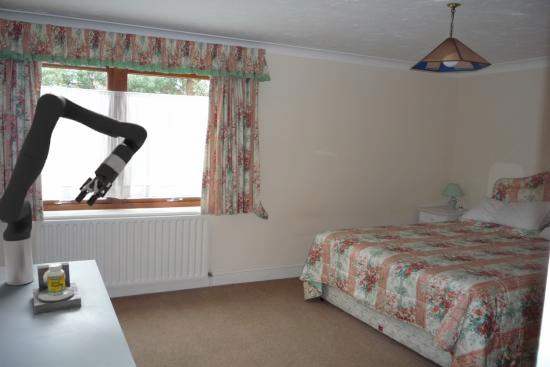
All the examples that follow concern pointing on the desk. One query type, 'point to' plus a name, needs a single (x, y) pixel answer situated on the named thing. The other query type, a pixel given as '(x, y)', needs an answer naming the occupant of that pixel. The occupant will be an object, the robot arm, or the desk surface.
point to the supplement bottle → (56, 279)
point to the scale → (55, 302)
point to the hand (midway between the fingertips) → (82, 203)
